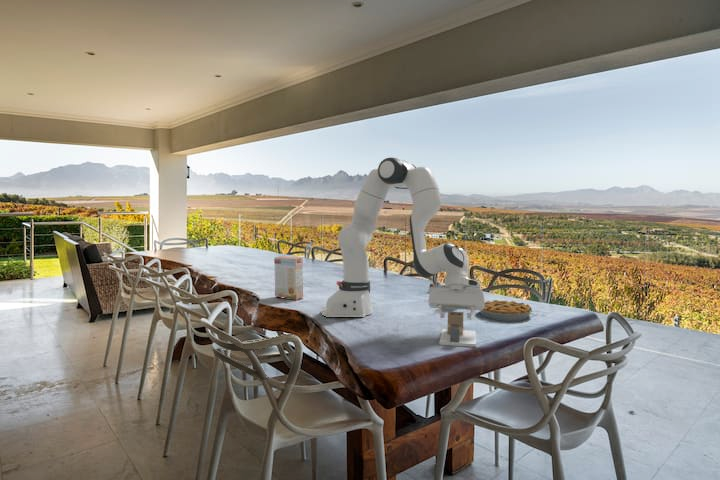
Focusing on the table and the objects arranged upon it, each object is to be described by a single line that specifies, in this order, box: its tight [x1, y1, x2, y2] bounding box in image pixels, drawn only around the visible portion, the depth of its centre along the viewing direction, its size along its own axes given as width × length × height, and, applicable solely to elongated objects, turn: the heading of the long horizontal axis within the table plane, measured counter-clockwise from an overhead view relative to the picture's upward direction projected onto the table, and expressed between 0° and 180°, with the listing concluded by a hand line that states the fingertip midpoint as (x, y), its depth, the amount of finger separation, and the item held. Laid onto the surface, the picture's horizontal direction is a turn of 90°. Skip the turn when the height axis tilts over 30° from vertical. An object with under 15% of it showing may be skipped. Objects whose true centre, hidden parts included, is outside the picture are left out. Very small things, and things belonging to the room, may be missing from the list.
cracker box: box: [273, 255, 304, 300], centre depth 229 cm, size 14×6×21 cm, turn 58°
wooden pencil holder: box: [447, 311, 464, 335], centre depth 162 cm, size 10×5×7 cm, turn 167°
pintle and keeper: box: [450, 313, 460, 342], centre depth 159 cm, size 12×3×8 cm, turn 167°
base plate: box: [439, 328, 477, 348], centre depth 160 cm, size 16×12×1 cm
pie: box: [479, 299, 533, 322], centre depth 193 cm, size 22×22×5 cm
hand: (455, 318), depth 163 cm, fingers open, 8 cm apart
